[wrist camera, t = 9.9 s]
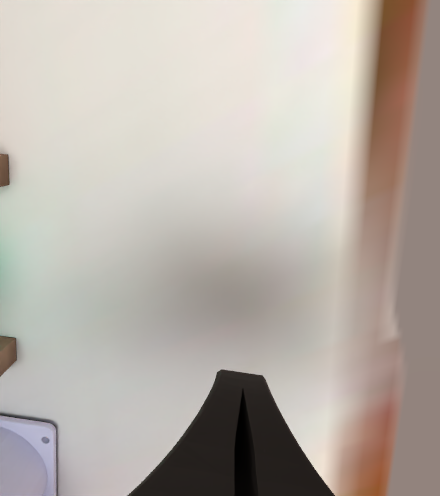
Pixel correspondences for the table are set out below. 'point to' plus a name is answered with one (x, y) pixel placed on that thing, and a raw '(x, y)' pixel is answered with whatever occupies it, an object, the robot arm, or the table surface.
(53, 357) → the table surface
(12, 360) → the brown wooden angled piece
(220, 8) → the table surface
